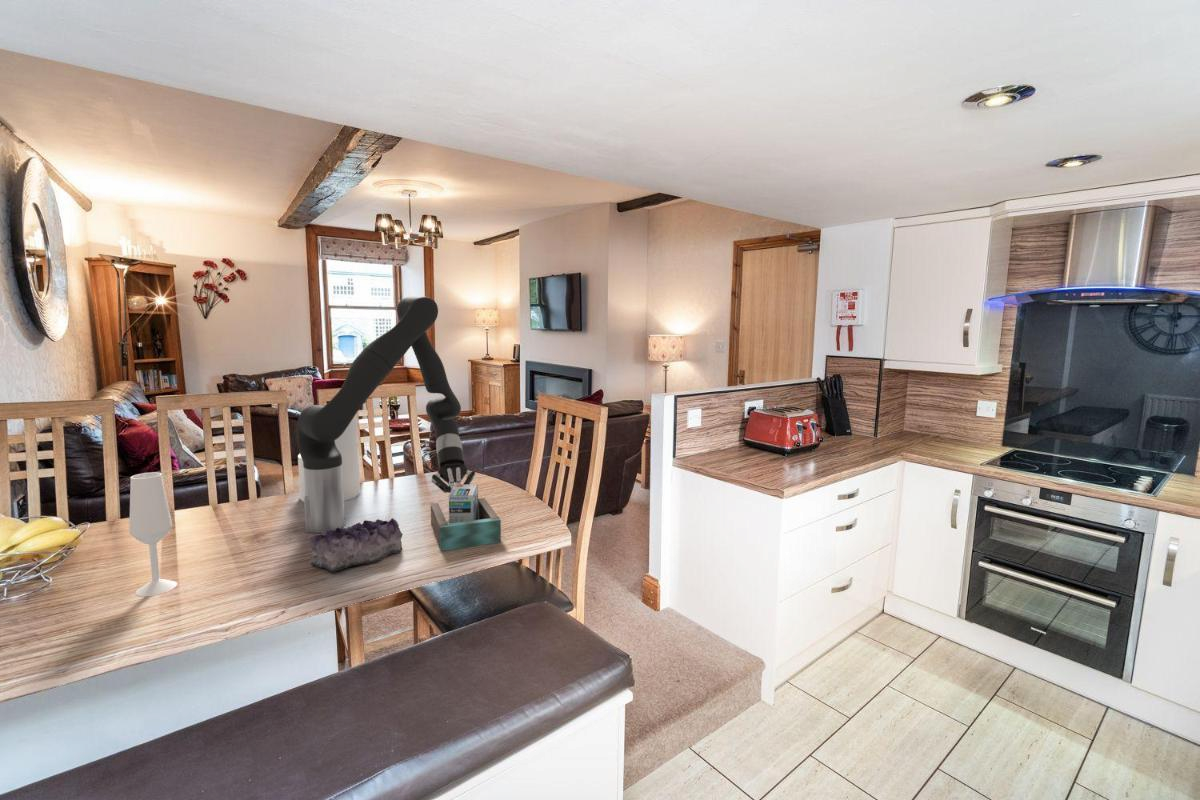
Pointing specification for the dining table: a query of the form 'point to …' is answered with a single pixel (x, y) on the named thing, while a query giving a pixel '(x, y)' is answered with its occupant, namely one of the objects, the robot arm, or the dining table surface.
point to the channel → (466, 528)
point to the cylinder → (343, 462)
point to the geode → (355, 544)
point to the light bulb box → (463, 503)
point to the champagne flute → (150, 524)
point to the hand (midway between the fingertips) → (457, 503)
